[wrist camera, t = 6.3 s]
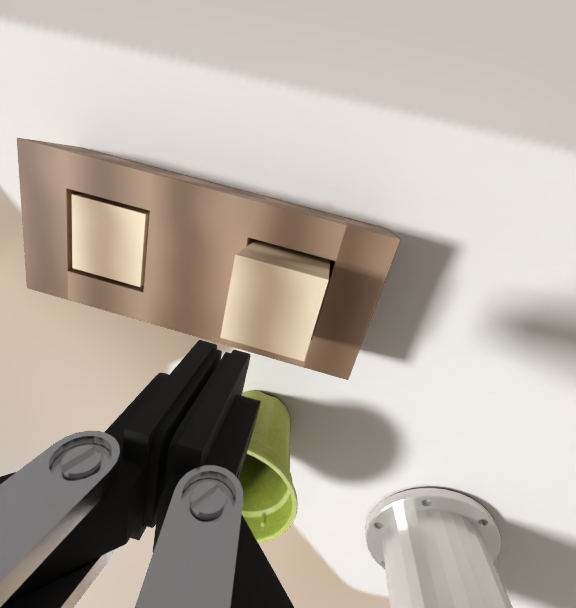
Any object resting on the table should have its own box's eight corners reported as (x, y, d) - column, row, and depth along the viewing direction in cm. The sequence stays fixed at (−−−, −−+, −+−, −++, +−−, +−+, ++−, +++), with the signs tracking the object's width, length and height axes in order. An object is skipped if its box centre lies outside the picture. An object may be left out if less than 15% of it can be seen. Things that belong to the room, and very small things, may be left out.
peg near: (330, 259, 21) (328, 279, 16) (310, 327, 23) (303, 361, 18) (256, 239, 21) (235, 254, 17) (242, 308, 23) (220, 337, 19)
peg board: (387, 228, 23) (400, 239, 19) (345, 346, 27) (348, 380, 22) (77, 146, 24) (16, 137, 20) (78, 271, 28) (27, 288, 23)
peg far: (179, 209, 25) (145, 214, 20) (172, 270, 27) (140, 287, 22) (118, 192, 25) (71, 194, 21) (116, 254, 27) (72, 267, 22)
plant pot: (242, 465, 33) (212, 555, 25) (193, 394, 31) (142, 467, 23) (324, 439, 31) (320, 529, 23) (277, 359, 28) (253, 428, 20)
